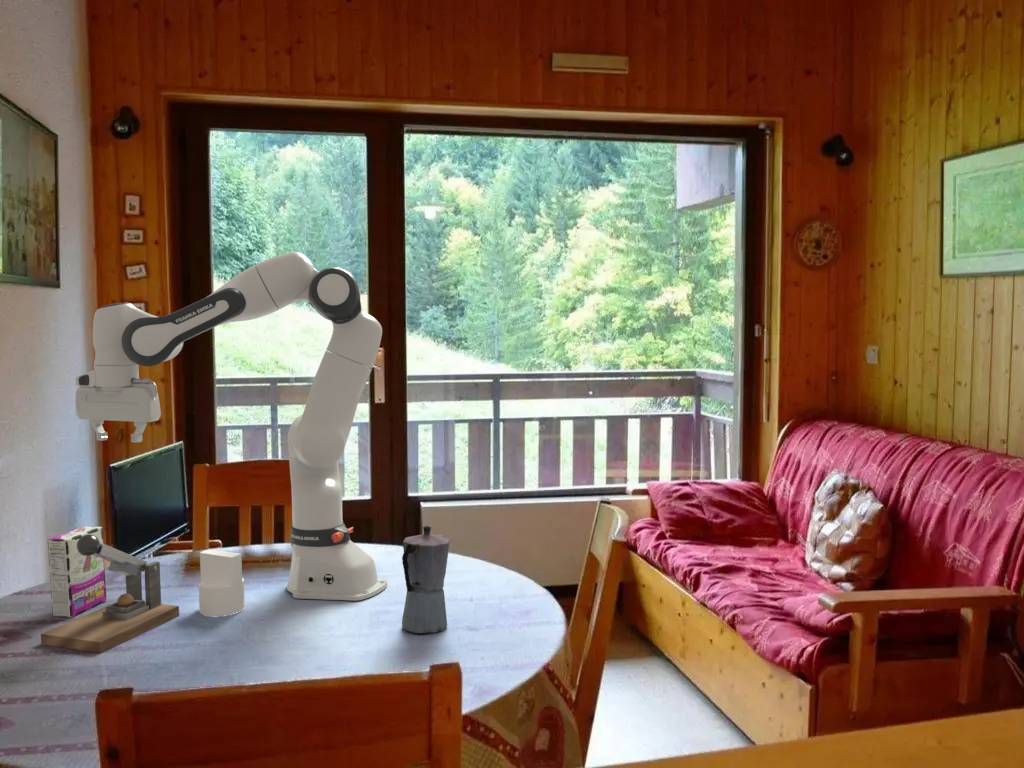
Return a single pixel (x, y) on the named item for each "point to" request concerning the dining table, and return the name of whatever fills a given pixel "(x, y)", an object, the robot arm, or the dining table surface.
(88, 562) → the candy bar box
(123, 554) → the lever
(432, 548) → the moka pot
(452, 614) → the dining table surface
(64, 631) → the nutcracker bench
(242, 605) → the white stepped block
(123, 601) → the nut
